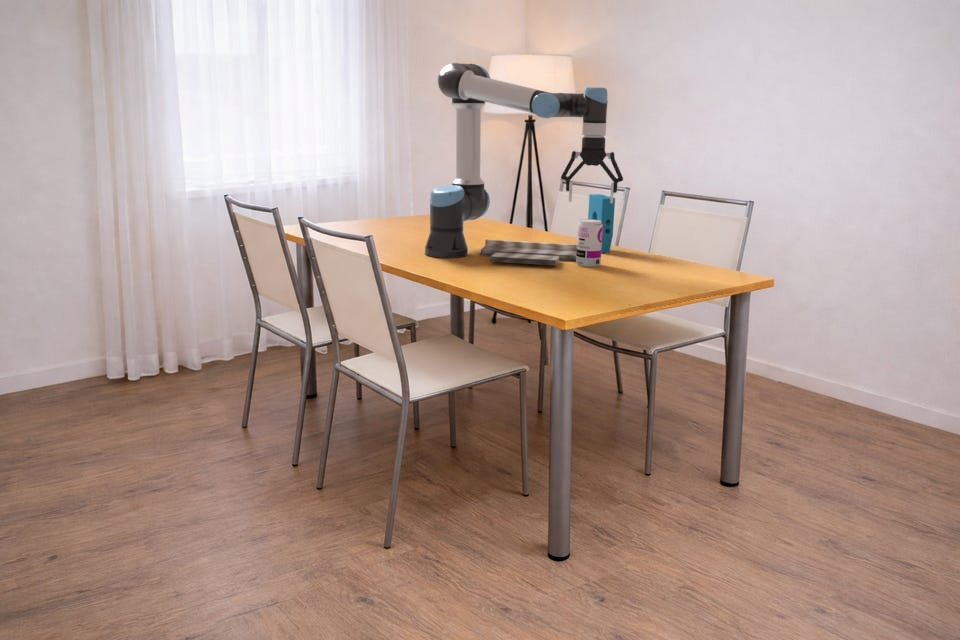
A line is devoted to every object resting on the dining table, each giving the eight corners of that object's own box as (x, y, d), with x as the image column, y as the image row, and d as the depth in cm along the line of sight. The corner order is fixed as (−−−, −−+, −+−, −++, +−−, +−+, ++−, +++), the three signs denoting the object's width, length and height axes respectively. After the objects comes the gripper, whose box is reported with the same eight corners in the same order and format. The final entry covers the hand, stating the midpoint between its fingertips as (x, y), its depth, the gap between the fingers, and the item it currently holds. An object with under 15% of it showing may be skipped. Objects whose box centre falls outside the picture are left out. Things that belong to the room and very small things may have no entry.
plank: (489, 261, 287) (489, 256, 287) (495, 257, 299) (495, 252, 298) (555, 265, 283) (555, 260, 283) (559, 260, 295) (559, 256, 294)
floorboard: (479, 256, 302) (480, 244, 301) (485, 250, 312) (486, 239, 311) (583, 262, 296) (583, 250, 294) (585, 256, 306) (586, 245, 305)
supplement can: (602, 263, 294) (605, 220, 290) (597, 268, 286) (600, 223, 282) (578, 261, 296) (581, 218, 292) (573, 266, 289) (575, 221, 285)
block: (612, 253, 313) (616, 198, 308) (600, 254, 311) (603, 198, 306) (597, 247, 324) (600, 194, 318) (585, 248, 322) (588, 194, 317)
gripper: (633, 136, 281) (629, 202, 287) (556, 135, 286) (554, 199, 291) (632, 137, 274) (628, 204, 279) (554, 136, 279) (551, 201, 284)
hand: (590, 202), depth 285 cm, fingers open, 13 cm apart
